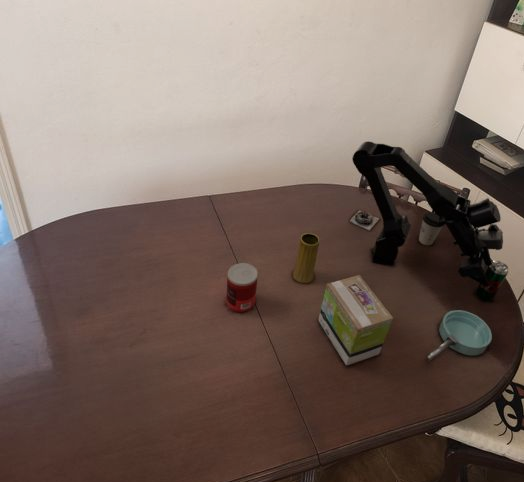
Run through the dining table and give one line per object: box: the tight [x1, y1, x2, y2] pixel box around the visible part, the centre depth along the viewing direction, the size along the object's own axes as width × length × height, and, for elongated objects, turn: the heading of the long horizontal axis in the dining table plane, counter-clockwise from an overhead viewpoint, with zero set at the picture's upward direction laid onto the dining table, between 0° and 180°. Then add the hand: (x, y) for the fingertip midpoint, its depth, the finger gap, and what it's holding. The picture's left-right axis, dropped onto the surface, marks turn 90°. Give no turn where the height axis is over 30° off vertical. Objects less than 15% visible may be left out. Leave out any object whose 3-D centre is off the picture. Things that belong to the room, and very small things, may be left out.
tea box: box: [318, 274, 394, 366], centre depth 114 cm, size 15×10×15 cm
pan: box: [438, 309, 493, 356], centre depth 121 cm, size 12×12×4 cm
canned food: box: [225, 262, 259, 313], centre depth 121 cm, size 8×8×11 cm
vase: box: [292, 232, 320, 284], centre depth 130 cm, size 6×6×14 cm
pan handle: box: [425, 334, 458, 362], centre depth 114 cm, size 11×2×2 cm, turn 127°
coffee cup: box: [418, 212, 445, 246], centre depth 150 cm, size 7×7×10 cm
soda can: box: [475, 260, 509, 302], centre depth 131 cm, size 5×5×12 cm
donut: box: [349, 209, 380, 231], centre depth 158 cm, size 8×8×2 cm
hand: (488, 275), depth 130 cm, fingers open, 9 cm apart
